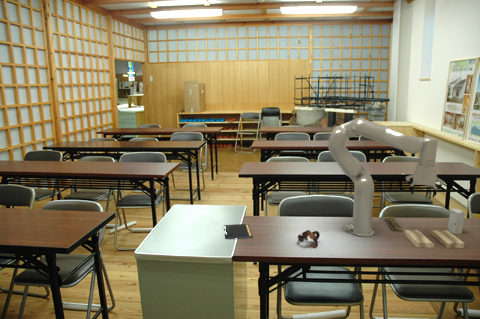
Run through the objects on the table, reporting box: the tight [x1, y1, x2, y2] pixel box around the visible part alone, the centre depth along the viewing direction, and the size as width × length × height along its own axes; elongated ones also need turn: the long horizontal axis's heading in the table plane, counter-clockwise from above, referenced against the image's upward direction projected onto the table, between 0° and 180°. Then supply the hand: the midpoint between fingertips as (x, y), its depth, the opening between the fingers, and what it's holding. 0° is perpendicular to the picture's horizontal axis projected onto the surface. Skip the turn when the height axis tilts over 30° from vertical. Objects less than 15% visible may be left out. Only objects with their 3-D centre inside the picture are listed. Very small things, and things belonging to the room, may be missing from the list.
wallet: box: [223, 223, 254, 240], centre depth 195 cm, size 20×2×15 cm
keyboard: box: [380, 216, 404, 233], centre depth 202 cm, size 22×9×2 cm, turn 170°
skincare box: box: [447, 208, 466, 235], centre depth 189 cm, size 6×4×12 cm
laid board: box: [429, 229, 466, 249], centre depth 179 cm, size 9×16×2 cm, turn 176°
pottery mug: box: [297, 229, 321, 249], centre depth 178 cm, size 12×10×8 cm
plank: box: [404, 229, 435, 249], centre depth 180 cm, size 8×16×2 cm, turn 177°
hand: (422, 195), depth 179 cm, fingers open, 9 cm apart
